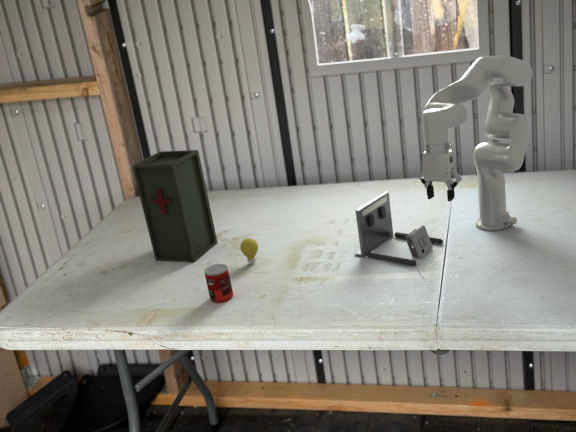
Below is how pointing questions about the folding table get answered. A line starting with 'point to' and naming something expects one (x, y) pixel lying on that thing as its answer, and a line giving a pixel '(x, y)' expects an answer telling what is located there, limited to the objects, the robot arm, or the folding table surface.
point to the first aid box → (176, 205)
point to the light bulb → (249, 250)
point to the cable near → (391, 259)
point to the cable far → (433, 240)
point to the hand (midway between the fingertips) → (440, 198)
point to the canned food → (218, 283)
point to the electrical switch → (419, 242)
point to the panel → (374, 224)
